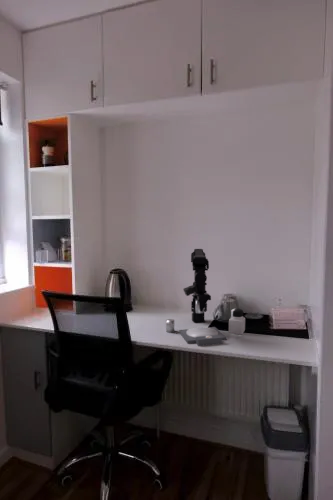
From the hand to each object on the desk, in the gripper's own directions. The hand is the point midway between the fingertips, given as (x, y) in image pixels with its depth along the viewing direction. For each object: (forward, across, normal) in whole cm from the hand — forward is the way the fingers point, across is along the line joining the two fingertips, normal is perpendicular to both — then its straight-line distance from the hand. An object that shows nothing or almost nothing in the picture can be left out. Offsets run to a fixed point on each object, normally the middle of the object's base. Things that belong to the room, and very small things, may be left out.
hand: (199, 310), depth 169 cm
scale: (+12, +7, 0) cm, 14 cm away
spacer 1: (+12, -5, -15) cm, 20 cm away
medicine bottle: (+12, +2, +20) cm, 23 cm away
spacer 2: (+1, 0, 0) cm, 1 cm away
